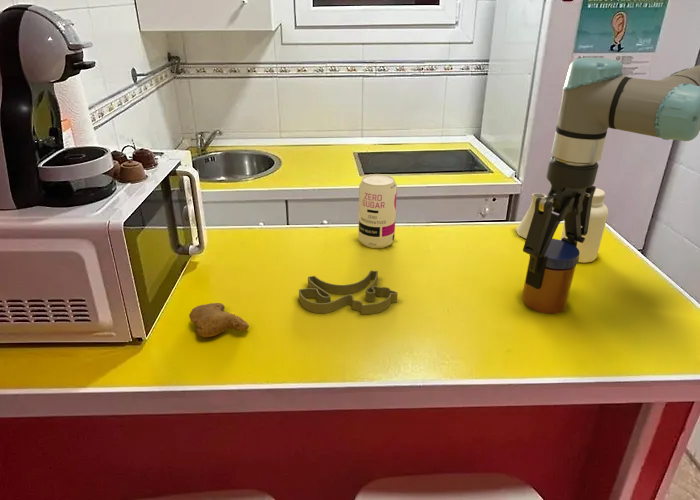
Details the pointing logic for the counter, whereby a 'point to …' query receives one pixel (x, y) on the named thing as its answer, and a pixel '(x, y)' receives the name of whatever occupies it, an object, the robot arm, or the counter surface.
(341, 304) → the cookie cutter
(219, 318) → the brown irregular lump
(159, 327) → the counter surface
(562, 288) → the jam jar
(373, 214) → the supplement can
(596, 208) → the pill bottle
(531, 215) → the flask
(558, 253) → the jam lid
